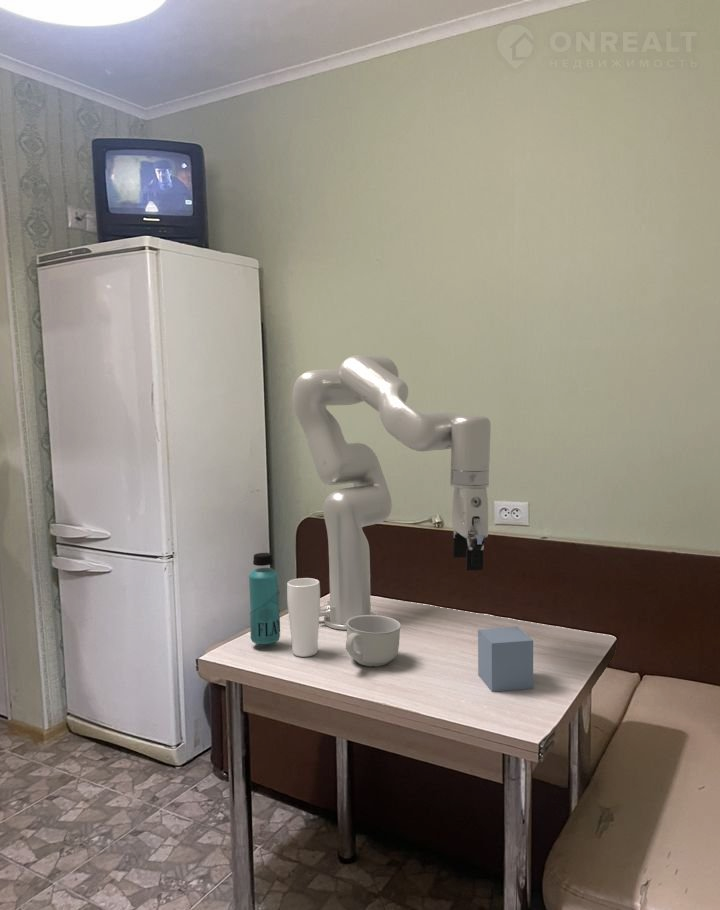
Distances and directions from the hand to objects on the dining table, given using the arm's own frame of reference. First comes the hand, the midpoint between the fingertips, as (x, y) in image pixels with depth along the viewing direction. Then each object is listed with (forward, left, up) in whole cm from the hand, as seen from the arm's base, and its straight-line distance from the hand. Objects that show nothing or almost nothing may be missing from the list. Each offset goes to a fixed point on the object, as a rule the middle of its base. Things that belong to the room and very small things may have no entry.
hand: (467, 563), depth 140 cm
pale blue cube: (+3, -13, -19) cm, 24 cm away
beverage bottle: (-40, +15, -19) cm, 47 cm away
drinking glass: (-32, +9, -19) cm, 39 cm away
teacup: (-20, +1, -19) cm, 28 cm away
